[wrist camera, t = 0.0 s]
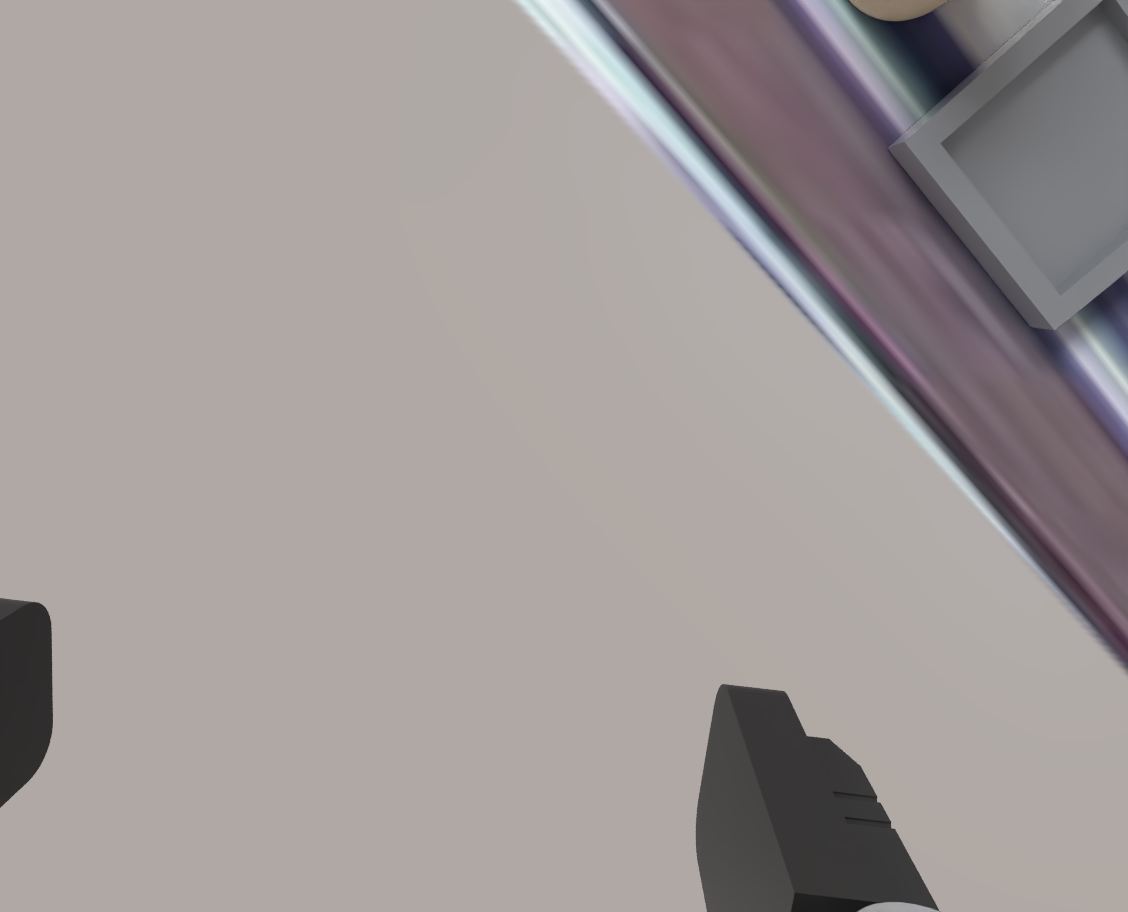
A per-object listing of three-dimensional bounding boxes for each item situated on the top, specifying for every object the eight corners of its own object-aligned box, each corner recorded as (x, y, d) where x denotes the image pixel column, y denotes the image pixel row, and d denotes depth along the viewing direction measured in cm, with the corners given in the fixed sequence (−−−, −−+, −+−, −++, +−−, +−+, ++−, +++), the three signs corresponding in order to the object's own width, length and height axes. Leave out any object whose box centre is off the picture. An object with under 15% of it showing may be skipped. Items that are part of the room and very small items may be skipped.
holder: (887, 148, 37) (904, 141, 35) (1087, -31, 35) (1117, -49, 33) (1030, 326, 38) (1055, 330, 36) (1229, 163, 36) (1266, 157, 34)
